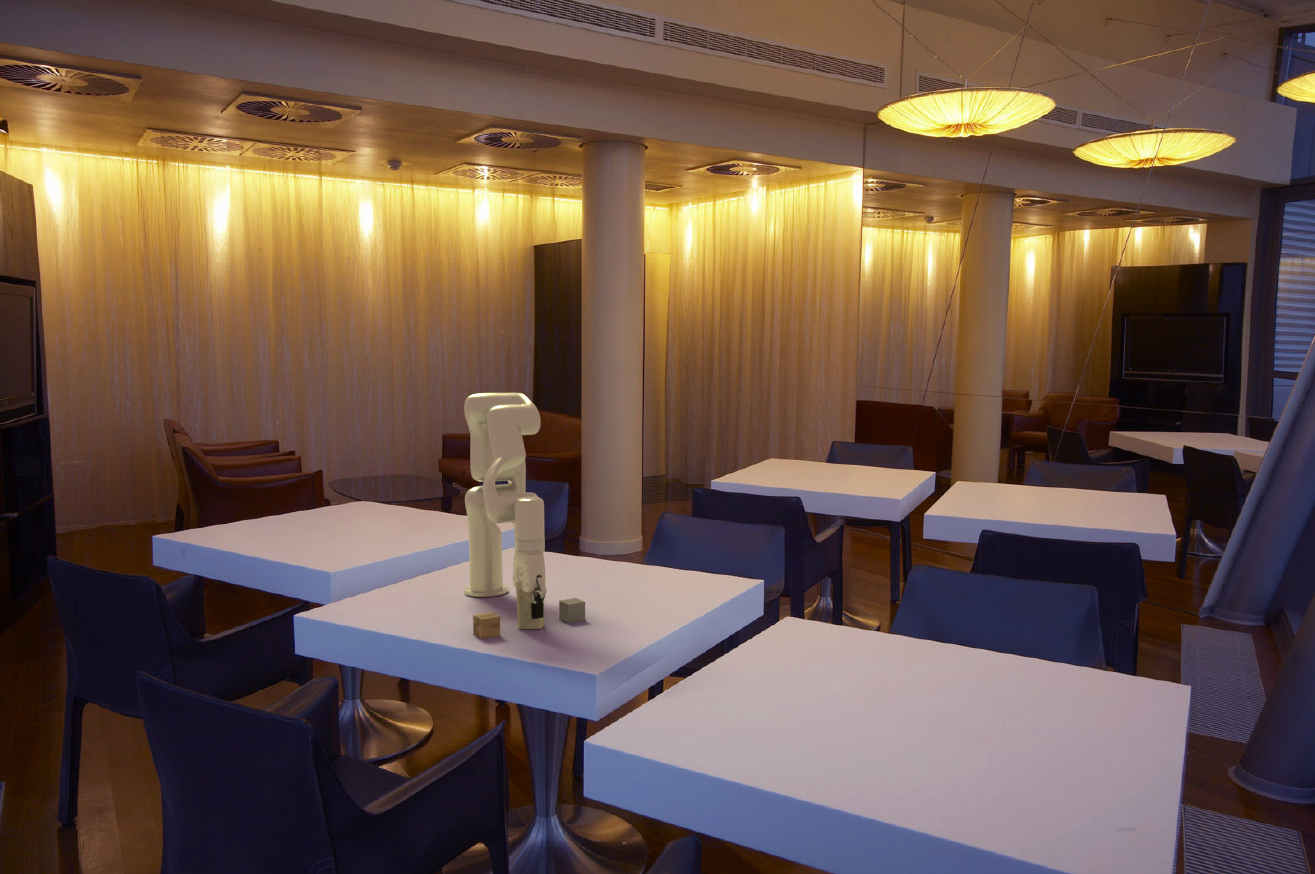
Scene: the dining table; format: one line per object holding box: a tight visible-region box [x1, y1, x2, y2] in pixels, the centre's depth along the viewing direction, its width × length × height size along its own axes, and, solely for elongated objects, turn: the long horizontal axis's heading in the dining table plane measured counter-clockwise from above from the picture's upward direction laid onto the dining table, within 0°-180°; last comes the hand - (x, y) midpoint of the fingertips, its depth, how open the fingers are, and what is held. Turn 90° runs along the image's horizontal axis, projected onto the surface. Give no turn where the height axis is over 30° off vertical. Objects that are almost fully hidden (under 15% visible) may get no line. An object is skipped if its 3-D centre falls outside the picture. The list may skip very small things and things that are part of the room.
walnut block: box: [472, 611, 501, 640], centre depth 223 cm, size 5×5×5 cm
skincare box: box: [515, 581, 546, 630], centre depth 229 cm, size 6×4×12 cm
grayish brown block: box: [558, 597, 586, 624], centre depth 236 cm, size 5×5×5 cm
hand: (530, 614), depth 229 cm, fingers closed on skincare box, 7 cm apart
